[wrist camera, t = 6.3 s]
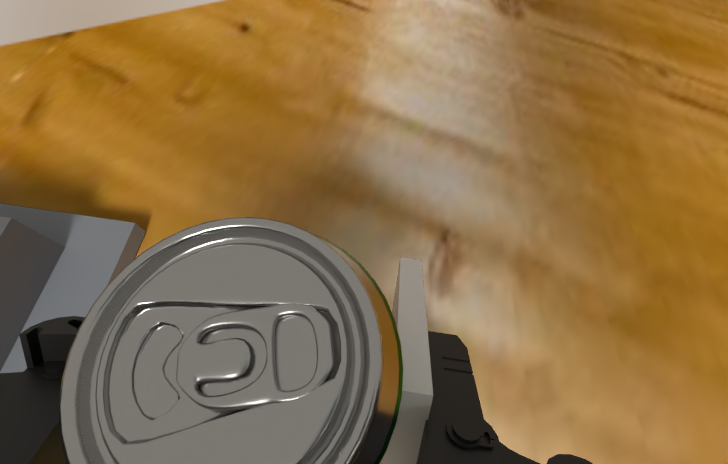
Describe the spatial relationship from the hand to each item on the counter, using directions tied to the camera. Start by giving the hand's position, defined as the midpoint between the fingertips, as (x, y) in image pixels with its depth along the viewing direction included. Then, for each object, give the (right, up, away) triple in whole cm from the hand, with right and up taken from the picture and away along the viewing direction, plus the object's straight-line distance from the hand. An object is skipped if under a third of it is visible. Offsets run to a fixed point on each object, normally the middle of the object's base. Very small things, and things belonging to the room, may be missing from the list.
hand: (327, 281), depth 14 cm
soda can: (-1, -5, +2) cm, 6 cm away
